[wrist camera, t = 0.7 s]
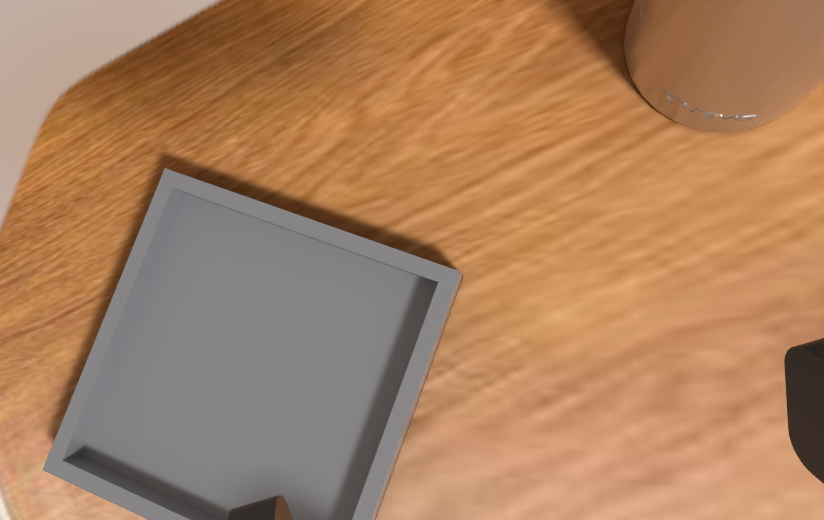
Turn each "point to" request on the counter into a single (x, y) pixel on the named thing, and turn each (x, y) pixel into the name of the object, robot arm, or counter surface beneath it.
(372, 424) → the tray
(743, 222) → the counter surface
